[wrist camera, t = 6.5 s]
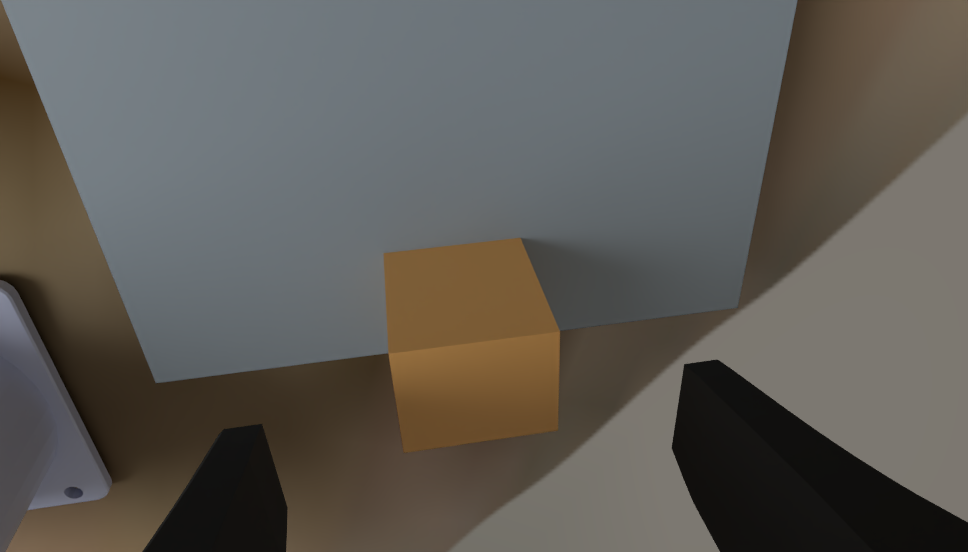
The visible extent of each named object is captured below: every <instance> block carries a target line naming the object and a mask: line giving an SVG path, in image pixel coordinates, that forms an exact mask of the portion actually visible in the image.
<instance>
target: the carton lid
mask: <svg viewBox="0 0 968 552" xmlns="http://www.w3.org/2000/svg"><path fill="white" fill-rule="evenodd" d="M1 1H2V3H3V6H4V8H5V11H6V13H7V16H8V18H9V21H10V23H11V25H12V28H13V30H14V33H15V35H16V38H17V40H18V43H19V45H20V48H21V50H22V53H23V55H24V58H25V60H26V63H27V65H28V68H29V70H30V73H31V75H32V77H33V80H34V82H35V85H36V87H37V90H38V92H39V95H40V97H41V100H42V102H43V105H44V107H45V110H46V112H47V115H48V117H49V120H50V122H51V125H52V127H53V130H54V132H55V134H56V137H57V139H58V142H59V144H60V147H61V149H62V152H63V154H64V157H65V159H66V162H67V164H68V167H69V169H70V172H71V174H72V177H73V179H74V182H75V184H76V187H77V189H78V191H79V194H80V196H81V199H82V201H83V204H84V206H85V209H86V211H87V214H88V216H89V219H90V221H91V224H92V226H93V229H94V231H95V234H96V236H97V239H98V241H99V243H100V246H101V248H102V251H103V253H104V256H105V258H106V261H107V263H108V266H109V268H110V271H111V273H112V276H113V278H114V281H115V283H116V286H117V288H118V291H119V293H120V296H121V298H122V300H123V303H124V305H125V308H126V310H127V313H128V315H129V318H130V320H131V323H132V325H133V328H134V330H135V333H136V335H137V338H138V340H139V343H140V345H141V348H142V350H143V353H144V355H145V357H146V360H147V362H148V365H149V367H150V370H151V372H152V375H153V377H154V380H155V382H156V383H162V382H170V381H177V380H185V379H193V378H200V377H208V376H216V375H223V374H231V373H239V372H247V371H254V370H262V369H270V368H277V367H285V366H293V365H301V364H308V363H316V362H324V361H331V360H339V359H347V358H355V357H362V356H370V355H378V354H385V353H388V354H389V361H390V367H391V374H392V380H393V387H394V393H395V400H396V406H397V413H398V419H399V426H400V432H401V439H402V445H403V452H404V453H408V452H414V451H421V450H428V449H435V448H442V447H449V446H455V445H462V444H469V443H476V442H483V441H490V440H497V439H503V438H510V437H517V436H524V435H531V434H538V433H544V432H551V431H558V404H559V358H560V331H563V330H570V329H578V328H586V327H594V326H601V325H609V324H617V323H624V322H632V321H640V320H648V319H655V318H663V317H671V316H678V315H686V314H694V313H701V312H709V311H717V310H725V309H732V308H738V303H739V298H740V293H741V288H742V283H743V278H744V272H745V267H746V262H747V257H748V252H749V247H750V242H751V236H752V231H753V226H754V221H755V216H756V211H757V206H758V201H759V195H760V190H761V185H762V180H763V175H764V170H765V165H766V159H767V154H768V149H769V144H770V139H771V134H772V129H773V123H774V118H775V113H776V108H777V103H778V98H779V93H780V87H781V82H782V77H783V72H784V67H785V62H786V57H787V51H788V46H789V41H790V36H791V31H792V26H793V21H794V15H795V10H796V5H797V0H1Z"/></svg>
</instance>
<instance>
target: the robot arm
mask: <svg viewBox="0 0 968 552" xmlns="http://www.w3.org/2000/svg"><path fill="white" fill-rule="evenodd" d="M672 450H673V452H674V455H675V458H676V460H677V463H678V465H679V468H680V471H681V473H682V476H683V479H684V481H685V483H686V486H687V488H688V491H689V493H690V496H691V498H692V500H693V502H694V504H695V506H696V508H697V510H698V511H699V514H700V516H701V517H702V519H703V521H704V523H705V525H706V527H707V529H708V530H709V532H710V534H711V536H712V538H713V540H714V541H715V543H716V545H717V547H718V549H719V551H720V552H968V522H966V521H964V520H962V519H960V518H959V517H957V516H955V515H953V514H951V513H950V512H948V511H946V510H944V509H942V508H941V507H939V506H937V505H935V504H933V503H931V502H929V501H928V500H926V499H924V498H922V497H921V496H919V495H917V494H915V493H914V492H912V491H910V490H908V489H907V488H905V487H903V486H902V485H900V484H898V483H896V482H895V481H893V480H892V479H890V478H888V477H887V476H885V475H884V474H882V473H881V472H879V471H877V470H876V469H874V468H873V467H871V466H869V465H868V464H866V463H865V462H863V461H861V460H860V459H858V458H857V457H855V456H853V455H852V454H850V453H849V452H848V451H846V450H844V449H843V448H841V447H840V446H838V445H837V444H835V443H834V442H832V441H831V440H830V439H828V438H827V437H825V436H824V435H822V434H821V433H819V432H818V431H816V430H815V429H814V428H812V427H811V426H809V425H808V424H806V423H805V422H804V421H802V420H801V419H799V418H798V417H797V416H795V415H794V414H792V413H791V412H790V411H788V410H787V409H785V408H784V407H783V406H781V405H780V404H778V403H777V402H776V401H774V400H773V399H772V398H770V397H769V396H767V395H766V394H765V393H763V392H762V391H761V390H759V389H758V388H757V387H755V386H754V385H752V384H751V383H750V382H748V381H747V380H746V379H744V378H743V377H742V376H740V375H738V374H737V373H736V372H735V371H733V370H732V369H730V368H729V367H727V366H726V365H725V364H723V363H722V362H720V361H719V360H711V361H704V362H697V363H690V364H684V370H683V376H682V384H681V390H680V397H679V403H678V410H677V417H676V423H675V430H674V437H673V443H672ZM111 485H112V480H111V477H110V475H109V473H108V471H107V469H106V467H105V465H104V463H103V461H102V459H101V457H100V455H99V453H98V451H97V449H96V447H95V445H94V443H93V441H92V439H91V437H90V435H89V433H88V431H87V429H86V427H85V425H84V423H83V421H82V419H81V417H80V415H79V413H78V411H77V409H76V407H75V405H74V404H73V402H72V400H71V398H70V396H69V394H68V392H67V390H66V388H65V386H64V384H63V382H62V380H61V378H60V376H59V374H58V372H57V370H56V368H55V366H54V364H53V362H52V360H51V358H50V356H49V354H48V352H47V350H46V348H45V346H44V344H43V342H42V340H41V338H40V336H39V334H38V332H37V330H36V328H35V326H34V324H33V322H32V320H31V318H30V316H29V314H28V312H27V310H26V308H25V306H24V304H23V302H22V300H21V298H20V296H19V294H18V292H17V291H16V290H15V288H14V287H13V286H12V285H10V284H9V283H7V282H5V281H2V280H0V552H5V551H6V550H7V548H8V546H9V544H10V542H11V540H12V538H13V536H14V534H15V532H16V531H17V529H18V527H19V525H20V523H21V521H22V519H23V517H24V515H25V513H26V511H27V510H31V509H38V508H45V507H51V506H58V505H65V504H72V503H79V502H86V501H92V500H98V499H101V498H104V497H105V496H106V495H107V494H108V492H109V490H110V487H111ZM74 487H77V488H74ZM286 538H287V505H286V501H285V498H284V495H283V492H282V488H281V485H280V482H279V478H278V475H277V472H276V469H275V465H274V462H273V459H272V455H271V452H270V449H269V445H268V442H267V439H266V436H265V432H264V429H263V426H262V424H258V425H251V426H244V427H237V428H230V429H224V430H223V431H222V432H221V433H220V434H219V435H218V437H217V438H216V440H215V442H214V443H213V445H212V446H211V448H210V450H209V451H208V453H207V454H206V456H205V458H204V459H203V461H202V463H201V464H200V466H199V467H198V469H197V471H196V472H195V474H194V475H193V477H192V479H191V480H190V482H189V483H188V485H187V486H186V488H185V489H184V491H183V493H182V494H181V496H180V497H179V499H178V500H177V502H176V503H175V505H174V506H173V508H172V509H171V511H170V512H169V514H168V515H167V517H166V518H165V520H164V521H163V522H162V524H161V525H160V527H159V528H158V530H157V531H156V533H155V534H154V536H153V537H152V539H151V540H150V542H149V543H148V545H147V546H146V547H145V549H144V550H143V552H286Z"/></svg>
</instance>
